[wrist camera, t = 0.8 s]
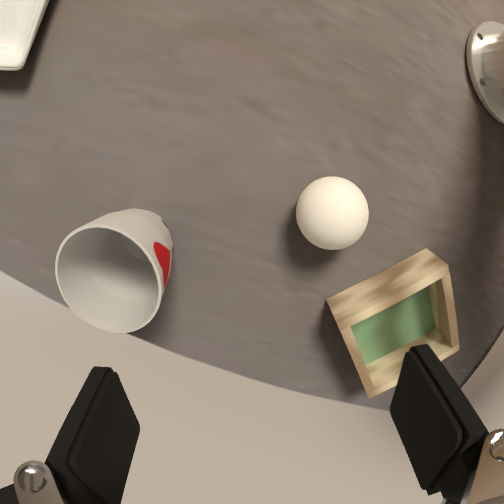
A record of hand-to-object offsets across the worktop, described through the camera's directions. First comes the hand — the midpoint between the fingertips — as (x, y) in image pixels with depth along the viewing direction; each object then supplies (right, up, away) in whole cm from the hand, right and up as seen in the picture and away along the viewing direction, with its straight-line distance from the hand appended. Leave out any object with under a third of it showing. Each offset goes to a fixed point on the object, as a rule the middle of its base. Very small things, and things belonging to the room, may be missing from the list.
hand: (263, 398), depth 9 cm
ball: (+6, +8, +17) cm, 19 cm away
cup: (-10, +6, +20) cm, 23 cm away
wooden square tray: (+15, -3, +24) cm, 28 cm away
